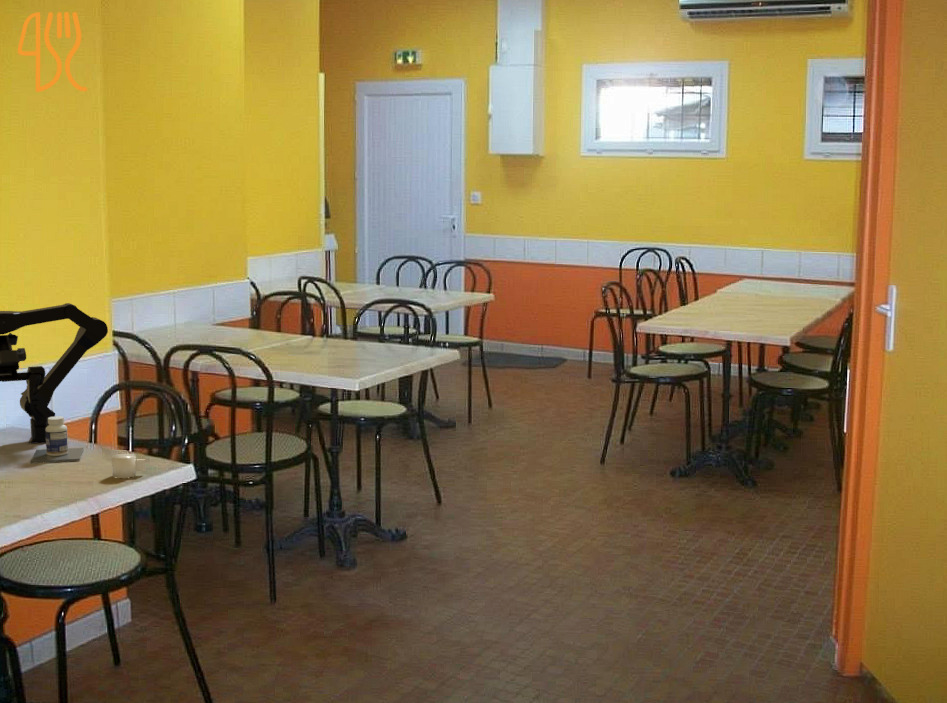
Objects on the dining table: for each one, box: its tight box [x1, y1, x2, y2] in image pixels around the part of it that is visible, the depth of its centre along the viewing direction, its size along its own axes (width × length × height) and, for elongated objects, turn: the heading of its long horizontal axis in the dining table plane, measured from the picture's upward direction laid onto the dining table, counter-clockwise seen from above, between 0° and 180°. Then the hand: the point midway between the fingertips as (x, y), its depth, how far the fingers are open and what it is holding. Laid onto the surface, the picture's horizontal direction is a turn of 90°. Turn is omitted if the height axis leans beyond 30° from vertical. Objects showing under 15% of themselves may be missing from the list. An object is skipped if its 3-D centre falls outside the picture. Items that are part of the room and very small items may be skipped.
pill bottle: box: [45, 415, 69, 456], centre depth 308 cm, size 5×5×10 cm
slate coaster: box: [30, 447, 84, 464], centre depth 309 cm, size 12×12×1 cm
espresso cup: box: [111, 453, 146, 479], centre depth 291 cm, size 6×8×5 cm
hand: (12, 404), depth 308 cm, fingers open, 9 cm apart
